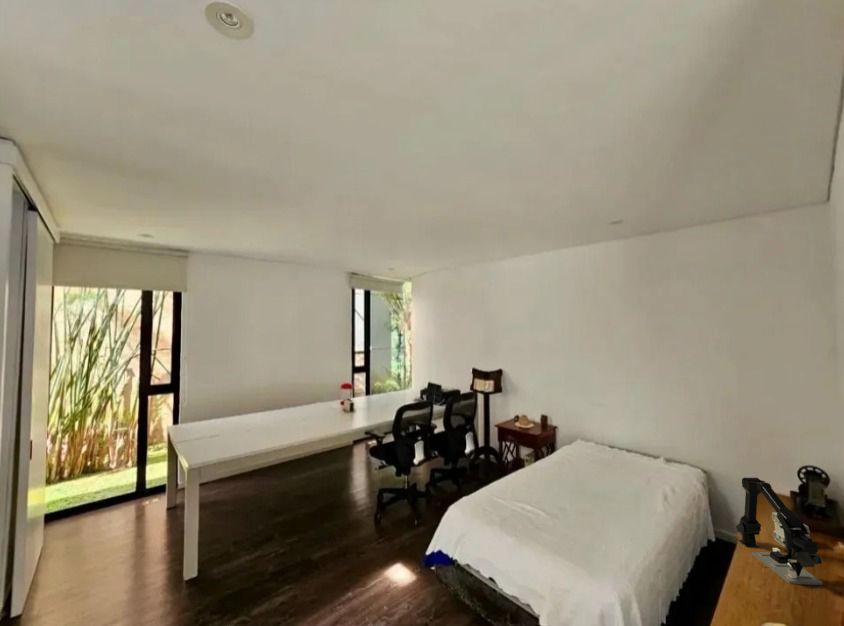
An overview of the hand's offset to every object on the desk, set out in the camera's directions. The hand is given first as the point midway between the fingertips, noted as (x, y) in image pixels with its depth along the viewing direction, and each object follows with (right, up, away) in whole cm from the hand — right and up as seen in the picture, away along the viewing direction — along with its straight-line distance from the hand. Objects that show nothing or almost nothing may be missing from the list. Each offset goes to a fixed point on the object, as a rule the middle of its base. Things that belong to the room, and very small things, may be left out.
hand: (797, 575), depth 179 cm
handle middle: (+5, -1, +8) cm, 10 cm away
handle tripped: (-2, -1, 0) cm, 3 cm away
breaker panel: (+2, -2, +9) cm, 9 cm away
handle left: (+6, -1, +17) cm, 18 cm away
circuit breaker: (+27, -3, +29) cm, 40 cm away
